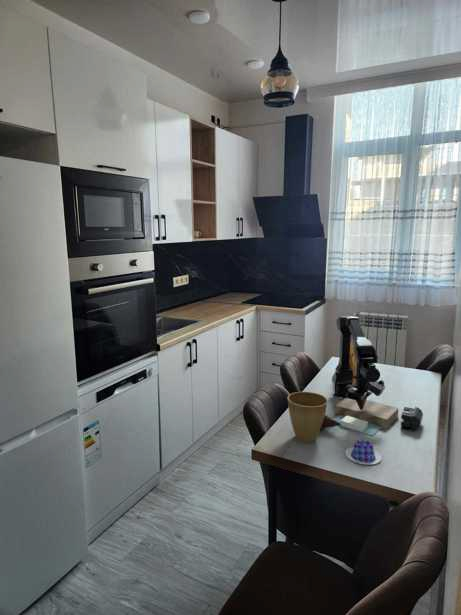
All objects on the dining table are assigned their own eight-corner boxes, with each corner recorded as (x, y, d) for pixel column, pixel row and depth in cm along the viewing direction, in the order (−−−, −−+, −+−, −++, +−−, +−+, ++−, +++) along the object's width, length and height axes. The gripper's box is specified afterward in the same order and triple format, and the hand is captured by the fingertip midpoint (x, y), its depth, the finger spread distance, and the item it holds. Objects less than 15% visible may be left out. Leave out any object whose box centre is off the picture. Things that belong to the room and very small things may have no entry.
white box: (346, 415, 169) (346, 420, 169) (340, 420, 165) (340, 425, 165) (367, 421, 163) (367, 426, 164) (361, 426, 159) (361, 431, 159)
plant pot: (316, 451, 145) (318, 410, 142) (280, 440, 153) (280, 400, 151) (332, 435, 157) (333, 396, 154) (297, 425, 165) (298, 388, 163)
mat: (329, 422, 168) (329, 422, 168) (339, 415, 175) (339, 414, 175) (372, 436, 156) (372, 435, 156) (381, 427, 163) (381, 426, 163)
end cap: (419, 433, 158) (420, 417, 157) (400, 429, 162) (401, 413, 161) (422, 423, 167) (423, 408, 166) (403, 419, 170) (404, 404, 169)
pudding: (375, 448, 148) (376, 435, 147) (385, 467, 136) (386, 452, 135) (342, 447, 148) (343, 434, 148) (349, 465, 137) (350, 451, 136)
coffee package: (334, 384, 211) (335, 343, 208) (339, 377, 222) (341, 338, 219) (353, 387, 207) (355, 345, 203) (358, 380, 218) (360, 340, 214)
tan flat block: (335, 413, 176) (335, 405, 176) (349, 403, 187) (349, 395, 186) (386, 428, 162) (386, 419, 162) (397, 416, 173) (398, 408, 172)
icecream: (343, 413, 161) (307, 409, 169) (338, 416, 155) (301, 411, 163) (343, 431, 161) (307, 426, 168) (337, 434, 154) (300, 429, 162)
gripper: (374, 384, 154) (371, 422, 157) (390, 371, 168) (388, 407, 171) (346, 378, 161) (344, 414, 164) (364, 366, 175) (363, 400, 178)
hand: (361, 409), depth 169 cm, fingers closed
